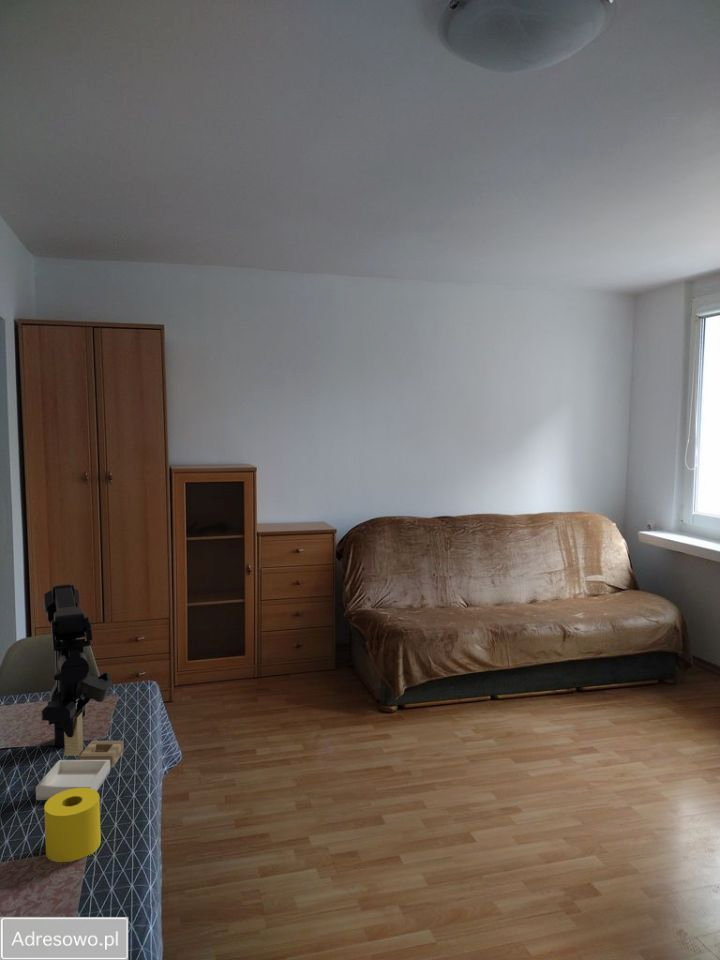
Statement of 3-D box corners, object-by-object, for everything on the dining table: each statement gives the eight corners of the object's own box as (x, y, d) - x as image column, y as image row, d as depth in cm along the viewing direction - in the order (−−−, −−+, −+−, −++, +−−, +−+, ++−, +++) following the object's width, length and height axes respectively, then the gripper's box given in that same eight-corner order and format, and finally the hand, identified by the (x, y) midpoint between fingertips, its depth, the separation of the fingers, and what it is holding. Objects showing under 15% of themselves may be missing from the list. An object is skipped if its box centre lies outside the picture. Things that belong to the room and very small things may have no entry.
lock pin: (70, 749, 158) (69, 712, 157) (83, 749, 158) (82, 712, 157) (65, 755, 155) (63, 717, 154) (78, 755, 155) (76, 717, 154)
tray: (59, 772, 163) (58, 760, 163) (110, 771, 163) (110, 759, 163) (36, 800, 151) (35, 787, 151) (91, 799, 151) (90, 786, 151)
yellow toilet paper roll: (66, 869, 128) (65, 821, 127) (35, 851, 133) (33, 805, 132) (111, 842, 136) (110, 797, 135) (80, 826, 141) (78, 782, 140)
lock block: (91, 752, 173) (91, 740, 173) (123, 752, 173) (123, 740, 173) (79, 768, 165) (79, 756, 165) (112, 767, 165) (112, 755, 165)
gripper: (91, 683, 146) (93, 753, 147) (120, 653, 164) (121, 716, 166) (39, 683, 146) (41, 753, 147) (73, 654, 164) (76, 716, 165)
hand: (73, 733), depth 156 cm, fingers closed on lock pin, 3 cm apart
